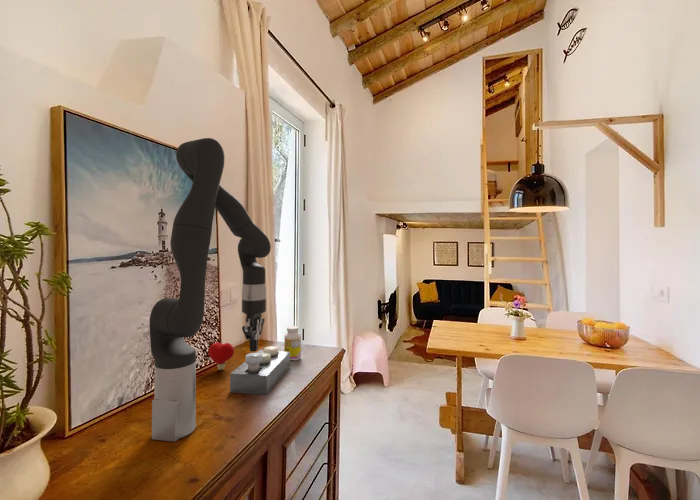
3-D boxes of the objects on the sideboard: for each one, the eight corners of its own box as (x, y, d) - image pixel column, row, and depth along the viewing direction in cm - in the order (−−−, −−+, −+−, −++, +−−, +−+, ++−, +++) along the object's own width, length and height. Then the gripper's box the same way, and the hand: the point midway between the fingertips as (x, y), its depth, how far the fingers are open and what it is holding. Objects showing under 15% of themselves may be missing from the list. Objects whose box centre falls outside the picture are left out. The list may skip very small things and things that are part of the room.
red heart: (237, 367, 131) (237, 341, 130) (229, 374, 124) (229, 346, 123) (213, 366, 132) (213, 340, 131) (204, 373, 125) (204, 345, 124)
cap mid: (267, 372, 117) (267, 358, 117) (252, 371, 118) (252, 357, 118) (272, 367, 123) (272, 353, 122) (258, 366, 123) (258, 352, 123)
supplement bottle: (282, 356, 143) (282, 326, 143) (298, 354, 146) (298, 324, 146) (286, 362, 137) (286, 330, 137) (302, 360, 140) (303, 328, 140)
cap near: (258, 374, 109) (258, 358, 109) (242, 373, 110) (242, 357, 110) (264, 368, 115) (264, 353, 114) (249, 367, 115) (249, 352, 115)
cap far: (275, 364, 125) (275, 350, 125) (261, 363, 126) (261, 350, 126) (280, 359, 130) (280, 346, 130) (266, 359, 131) (267, 345, 131)
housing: (266, 395, 108) (266, 375, 108) (230, 392, 109) (230, 373, 109) (289, 367, 131) (290, 351, 131) (259, 365, 133) (259, 350, 133)
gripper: (257, 301, 105) (256, 358, 105) (272, 294, 118) (272, 345, 118) (233, 300, 106) (233, 356, 106) (251, 294, 119) (251, 344, 119)
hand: (253, 350), depth 112 cm, fingers closed
